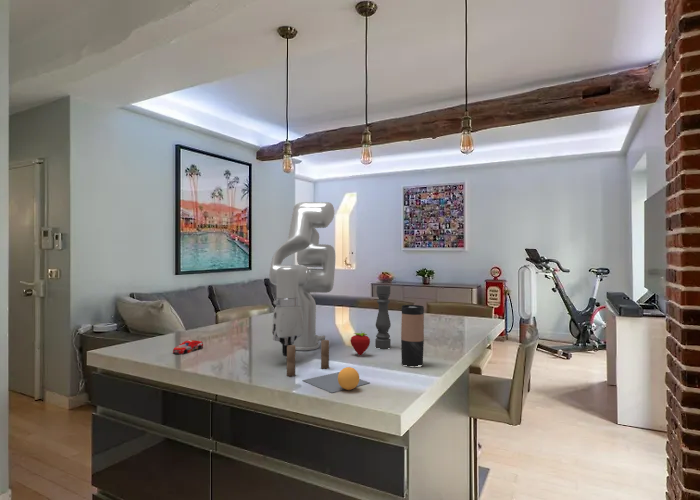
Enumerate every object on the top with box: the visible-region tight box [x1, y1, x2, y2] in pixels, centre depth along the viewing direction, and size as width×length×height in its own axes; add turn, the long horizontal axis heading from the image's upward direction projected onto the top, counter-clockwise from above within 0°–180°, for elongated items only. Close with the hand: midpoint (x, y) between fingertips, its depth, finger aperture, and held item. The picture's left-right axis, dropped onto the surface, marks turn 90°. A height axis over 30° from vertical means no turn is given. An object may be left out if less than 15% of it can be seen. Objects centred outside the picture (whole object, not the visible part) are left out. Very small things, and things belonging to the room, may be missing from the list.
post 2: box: [320, 339, 330, 370], centre depth 136 cm, size 3×3×9 cm
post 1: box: [286, 345, 296, 377], centre depth 127 cm, size 3×3×9 cm
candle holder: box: [374, 284, 392, 350], centre depth 168 cm, size 6×6×25 cm
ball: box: [338, 366, 360, 391], centre depth 115 cm, size 6×6×6 cm
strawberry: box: [350, 332, 371, 356], centre depth 154 cm, size 6×8×10 cm
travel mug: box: [400, 304, 425, 366], centre depth 142 cm, size 8×8×20 cm
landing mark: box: [302, 371, 371, 394], centre depth 121 cm, size 14×14×1 cm
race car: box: [172, 339, 204, 355], centre depth 158 cm, size 13×5×4 cm, turn 159°
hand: (287, 355), depth 142 cm, fingers closed
